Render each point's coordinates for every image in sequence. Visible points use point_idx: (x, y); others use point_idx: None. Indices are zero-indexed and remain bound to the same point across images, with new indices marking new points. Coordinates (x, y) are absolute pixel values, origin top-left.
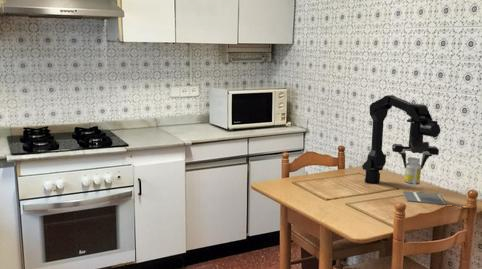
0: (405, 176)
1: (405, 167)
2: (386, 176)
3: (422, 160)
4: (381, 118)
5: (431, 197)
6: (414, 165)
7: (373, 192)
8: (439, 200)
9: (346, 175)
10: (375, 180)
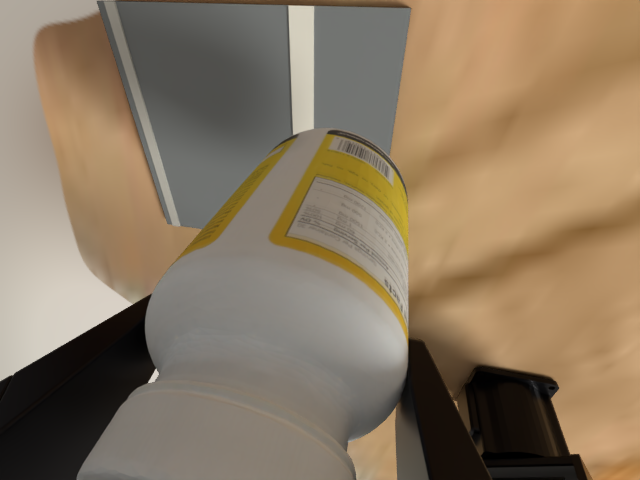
0: (407, 230)
1: (413, 344)
2: (385, 438)
3: (59, 444)
4: None
5: (208, 150)
6: (248, 313)
7: (624, 220)
8: (154, 86)
9: (595, 464)
10: (496, 390)
